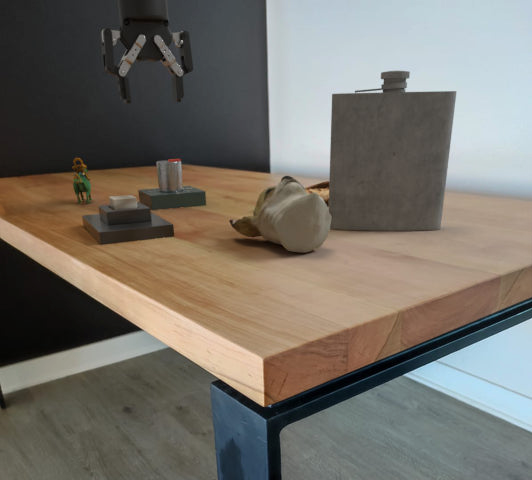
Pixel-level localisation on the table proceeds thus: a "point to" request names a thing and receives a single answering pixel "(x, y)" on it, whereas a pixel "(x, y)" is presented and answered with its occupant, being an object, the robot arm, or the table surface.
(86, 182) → the figurine
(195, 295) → the table surface
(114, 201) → the cream rectangular block
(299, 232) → the ceramic sculpture
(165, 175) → the silver cylinder cluster
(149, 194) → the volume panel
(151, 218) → the dark grey stepped block
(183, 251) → the table surface
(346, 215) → the hip flask
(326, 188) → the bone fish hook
